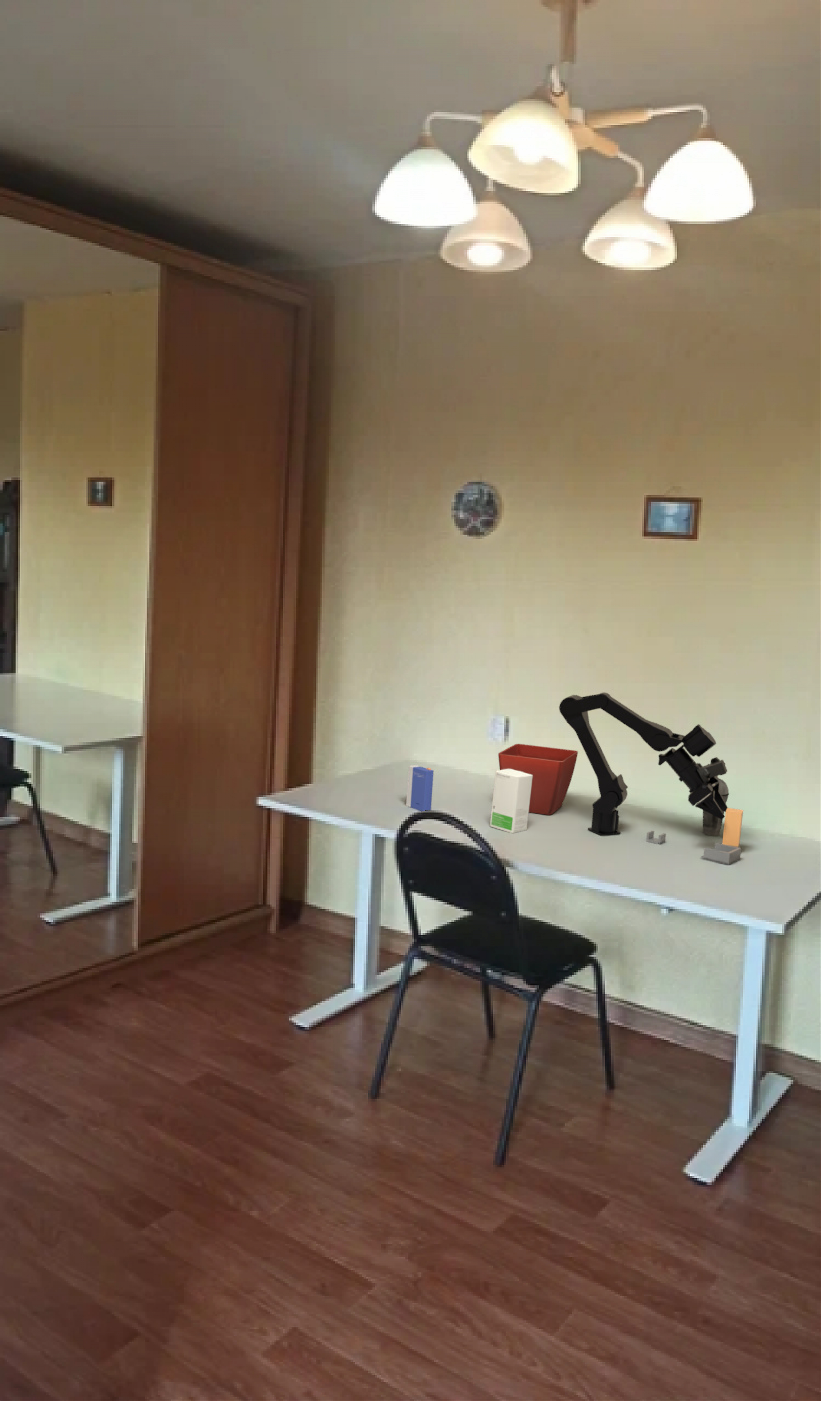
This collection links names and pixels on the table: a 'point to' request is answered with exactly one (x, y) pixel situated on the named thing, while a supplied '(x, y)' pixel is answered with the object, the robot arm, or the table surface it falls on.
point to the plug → (732, 827)
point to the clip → (654, 840)
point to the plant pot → (542, 773)
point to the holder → (722, 854)
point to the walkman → (419, 788)
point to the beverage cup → (710, 821)
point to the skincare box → (511, 800)
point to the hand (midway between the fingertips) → (725, 814)
